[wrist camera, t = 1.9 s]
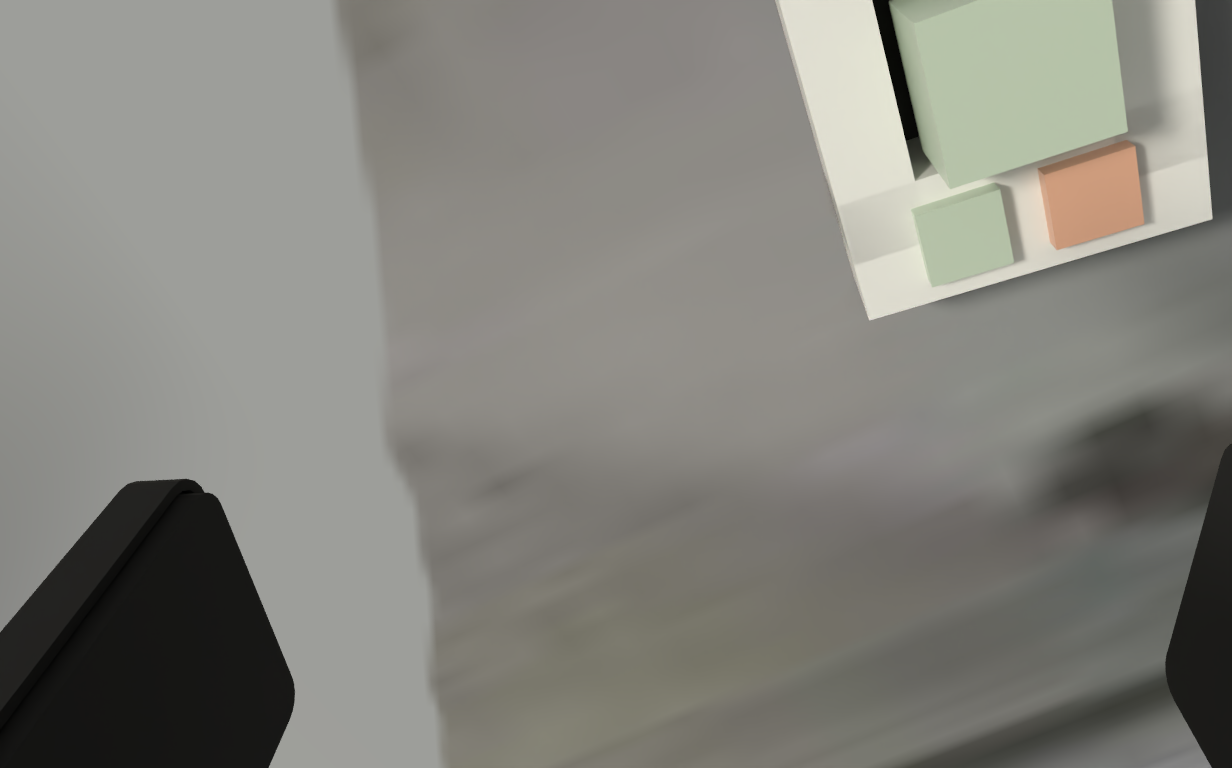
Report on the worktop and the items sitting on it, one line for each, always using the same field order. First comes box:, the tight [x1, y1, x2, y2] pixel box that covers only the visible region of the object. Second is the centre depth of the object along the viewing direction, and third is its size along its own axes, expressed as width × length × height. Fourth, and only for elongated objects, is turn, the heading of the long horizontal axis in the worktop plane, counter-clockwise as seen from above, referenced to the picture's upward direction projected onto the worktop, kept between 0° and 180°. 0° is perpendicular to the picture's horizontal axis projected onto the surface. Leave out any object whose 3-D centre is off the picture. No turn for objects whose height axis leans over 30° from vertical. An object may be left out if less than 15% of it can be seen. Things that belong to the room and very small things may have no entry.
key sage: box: [888, 0, 1128, 189], centre depth 24 cm, size 4×4×4 cm
